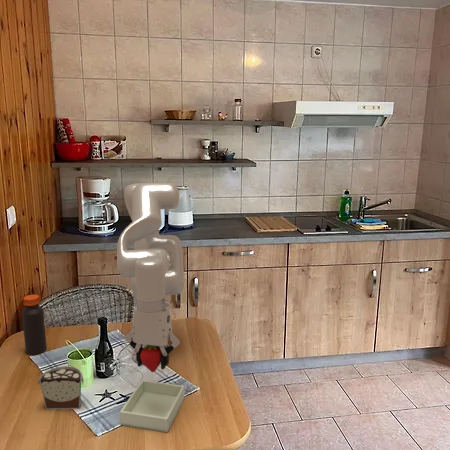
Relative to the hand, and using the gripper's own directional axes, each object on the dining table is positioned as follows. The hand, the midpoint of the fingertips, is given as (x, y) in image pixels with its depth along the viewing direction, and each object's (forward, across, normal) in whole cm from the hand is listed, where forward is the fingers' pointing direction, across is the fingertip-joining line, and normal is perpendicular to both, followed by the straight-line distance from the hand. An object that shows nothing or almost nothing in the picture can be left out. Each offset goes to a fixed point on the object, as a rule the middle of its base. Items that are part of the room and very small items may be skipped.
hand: (152, 364), depth 122 cm
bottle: (+14, +52, -22) cm, 58 cm away
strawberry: (+2, 0, 0) cm, 2 cm away
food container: (+15, +26, +2) cm, 30 cm away
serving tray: (+14, 0, 0) cm, 14 cm away
